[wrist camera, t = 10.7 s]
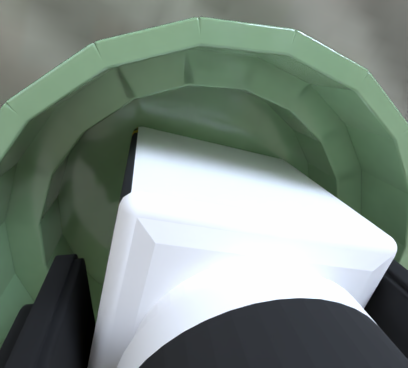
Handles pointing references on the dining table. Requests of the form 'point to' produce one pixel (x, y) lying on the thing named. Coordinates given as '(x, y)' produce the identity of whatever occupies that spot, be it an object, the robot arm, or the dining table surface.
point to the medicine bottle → (236, 266)
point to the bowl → (189, 127)
